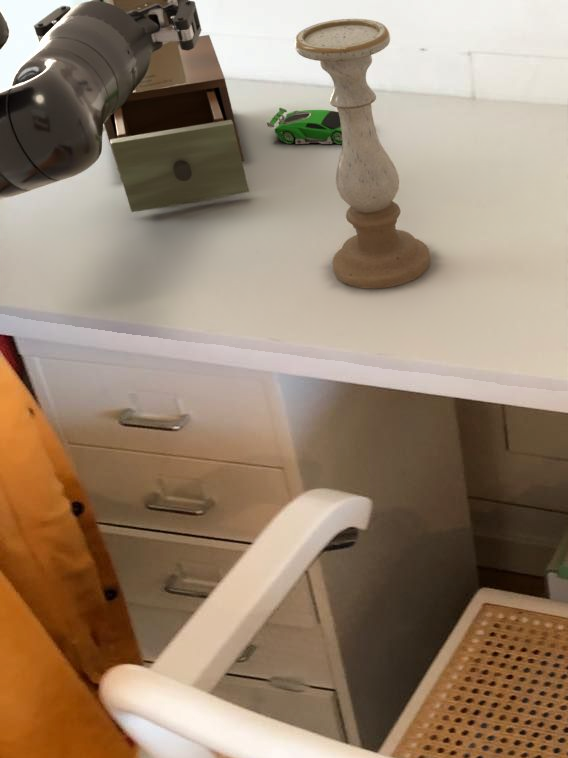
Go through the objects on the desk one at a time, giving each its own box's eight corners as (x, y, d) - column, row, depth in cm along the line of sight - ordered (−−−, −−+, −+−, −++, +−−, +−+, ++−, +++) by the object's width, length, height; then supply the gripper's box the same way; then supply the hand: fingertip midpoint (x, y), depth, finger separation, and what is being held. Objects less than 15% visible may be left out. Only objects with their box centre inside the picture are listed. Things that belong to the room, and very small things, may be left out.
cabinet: (244, 161, 137) (224, 78, 131) (121, 182, 134) (96, 98, 128) (228, 113, 147) (209, 34, 141) (113, 132, 144) (89, 52, 139)
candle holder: (348, 298, 113) (300, 59, 100) (323, 257, 119) (275, 27, 106) (443, 275, 116) (409, 39, 102) (414, 236, 122) (378, 8, 108)
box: (136, 94, 122) (100, -33, 115) (123, 81, 125) (87, -44, 118) (190, 82, 124) (158, -44, 117) (176, 70, 127) (144, -54, 120)
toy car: (371, 128, 142) (367, 107, 141) (359, 145, 139) (355, 124, 137) (284, 127, 143) (279, 106, 142) (270, 144, 140) (265, 123, 138)
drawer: (251, 196, 128) (234, 128, 123) (132, 217, 125) (111, 148, 121) (232, 142, 138) (217, 77, 134) (123, 161, 136) (103, 95, 131)
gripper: (163, 12, 107) (210, -45, 119) (-10, 20, 107) (55, -38, 120) (186, 104, 112) (229, 40, 124) (22, 111, 112) (81, 47, 125)
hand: (144, 2), depth 122 cm, fingers closed on box, 6 cm apart
